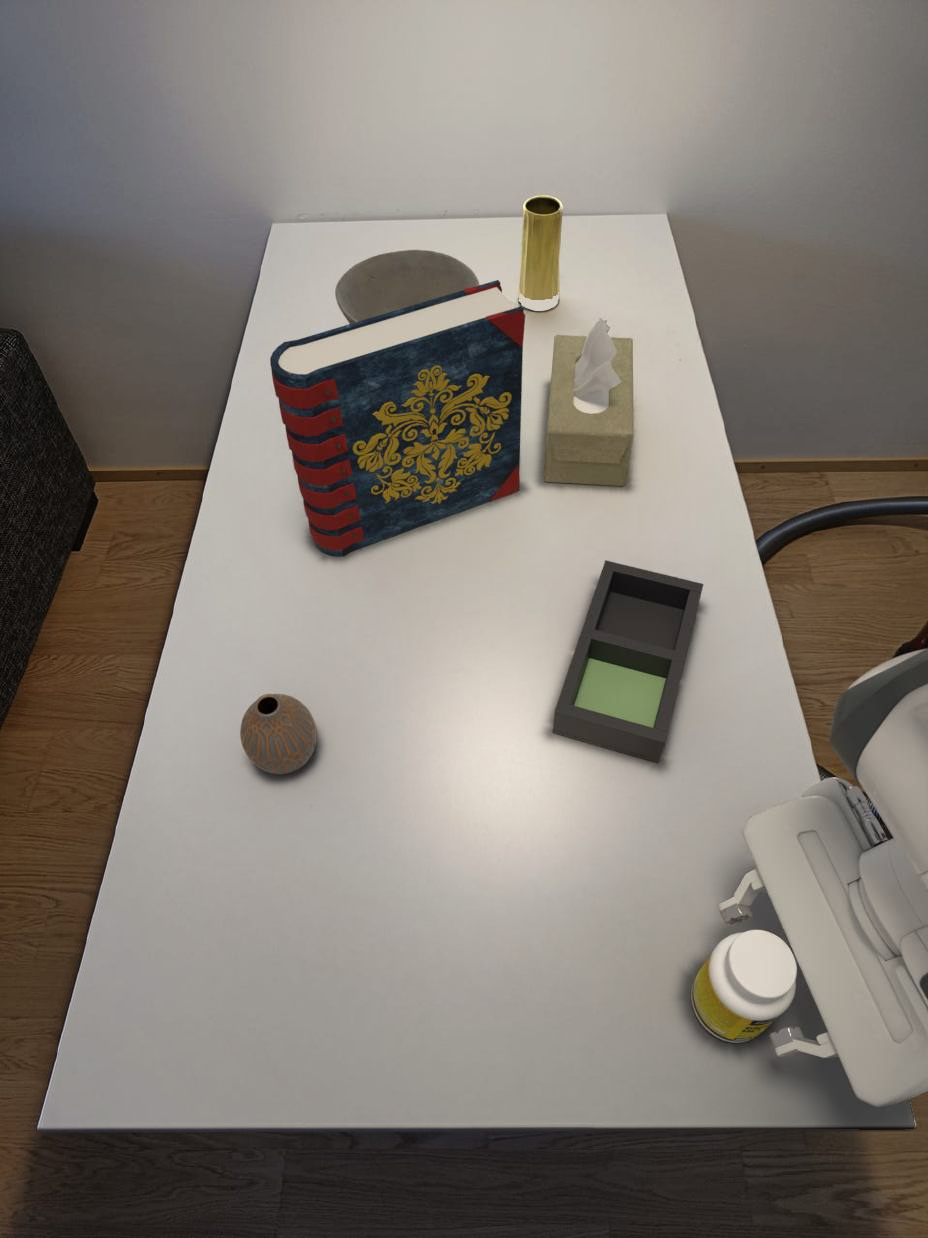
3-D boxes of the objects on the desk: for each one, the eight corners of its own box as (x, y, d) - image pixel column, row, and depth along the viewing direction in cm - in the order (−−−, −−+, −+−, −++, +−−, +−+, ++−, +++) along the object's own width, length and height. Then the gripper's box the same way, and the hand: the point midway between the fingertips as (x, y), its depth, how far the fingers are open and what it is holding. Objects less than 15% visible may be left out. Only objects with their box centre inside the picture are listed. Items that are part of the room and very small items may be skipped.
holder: (658, 763, 84) (664, 742, 80) (552, 733, 86) (554, 711, 83) (696, 607, 95) (703, 583, 91) (601, 584, 97) (605, 560, 94)
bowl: (382, 414, 115) (374, 349, 107) (324, 338, 125) (312, 274, 117) (506, 367, 120) (506, 301, 112) (440, 298, 130) (436, 234, 122)
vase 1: (334, 759, 85) (320, 713, 78) (270, 797, 83) (249, 753, 76) (300, 709, 88) (284, 660, 81) (238, 744, 86) (215, 696, 79)
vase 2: (552, 315, 127) (558, 220, 115) (511, 307, 128) (513, 212, 117) (564, 292, 130) (571, 197, 119) (525, 284, 131) (528, 190, 120)
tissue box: (625, 488, 105) (642, 381, 93) (543, 484, 106) (550, 376, 94) (625, 387, 117) (641, 279, 104) (551, 384, 118) (558, 276, 105)
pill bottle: (735, 1063, 68) (771, 1030, 59) (673, 999, 71) (699, 959, 62) (784, 1006, 70) (826, 966, 62) (723, 946, 73) (754, 901, 64)
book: (323, 565, 100) (280, 387, 80) (303, 525, 103) (257, 345, 83) (522, 493, 105) (528, 311, 86) (496, 457, 109) (496, 275, 89)
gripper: (829, 758, 63) (676, 842, 70) (992, 1069, 51) (788, 1134, 58) (866, 774, 67) (717, 852, 74) (1025, 1065, 55) (830, 1126, 62)
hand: (749, 978), depth 65 cm, fingers open, 8 cm apart
